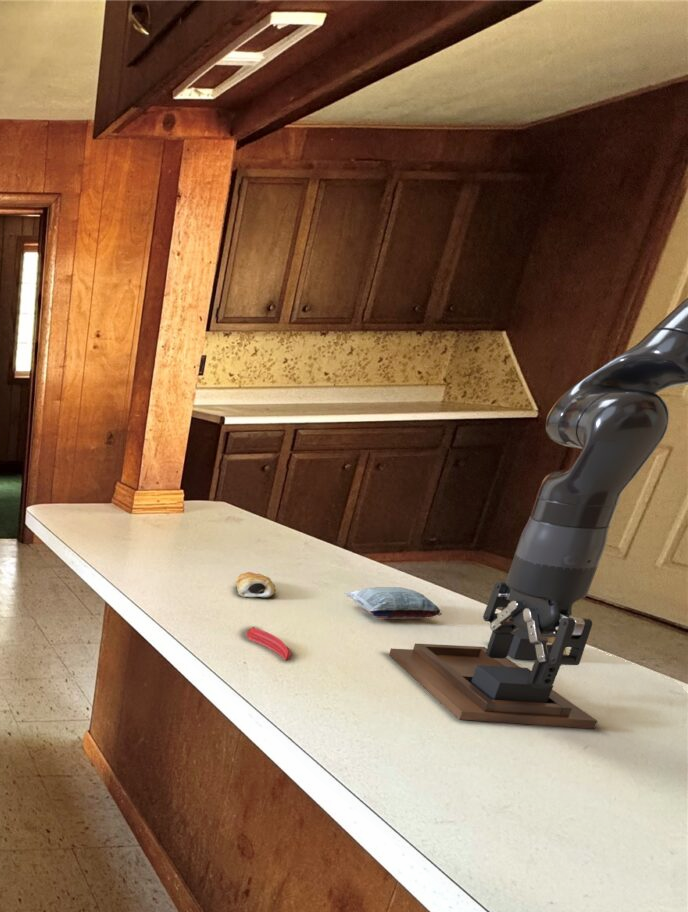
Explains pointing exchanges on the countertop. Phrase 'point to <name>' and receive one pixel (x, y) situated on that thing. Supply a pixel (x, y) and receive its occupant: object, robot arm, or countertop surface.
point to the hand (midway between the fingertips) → (515, 671)
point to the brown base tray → (450, 683)
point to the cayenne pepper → (269, 642)
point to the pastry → (254, 585)
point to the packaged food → (394, 603)
